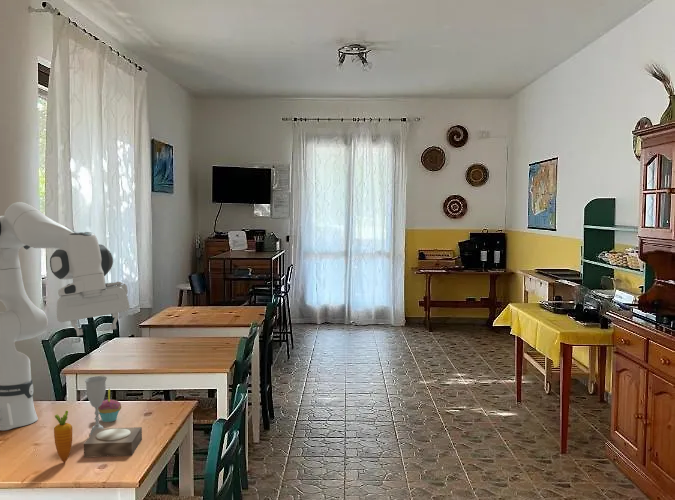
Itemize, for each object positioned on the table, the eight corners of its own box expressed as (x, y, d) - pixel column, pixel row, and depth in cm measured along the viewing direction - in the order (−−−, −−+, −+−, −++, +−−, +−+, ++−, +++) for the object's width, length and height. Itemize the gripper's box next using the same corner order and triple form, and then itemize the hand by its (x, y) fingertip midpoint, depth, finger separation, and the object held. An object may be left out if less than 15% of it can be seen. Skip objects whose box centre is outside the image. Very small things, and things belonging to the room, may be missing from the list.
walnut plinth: (83, 457, 206) (83, 442, 206) (97, 441, 220) (96, 427, 219) (131, 455, 207) (131, 440, 206) (142, 439, 221) (141, 425, 220)
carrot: (55, 466, 198) (53, 415, 197) (55, 460, 203) (52, 410, 202) (74, 463, 200) (72, 412, 199) (73, 458, 205) (71, 408, 204)
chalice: (101, 437, 223) (99, 382, 222) (82, 436, 225) (79, 381, 224) (112, 430, 230) (111, 376, 229) (94, 429, 232) (92, 375, 231)
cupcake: (124, 420, 240) (123, 386, 240) (99, 425, 236) (98, 390, 235) (117, 414, 247) (116, 381, 247) (93, 419, 243) (91, 385, 242)
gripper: (124, 281, 211) (131, 326, 211) (52, 291, 202) (59, 339, 201) (127, 279, 206) (135, 325, 205) (54, 290, 197) (61, 338, 196)
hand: (97, 332), depth 203 cm, fingers open, 8 cm apart
